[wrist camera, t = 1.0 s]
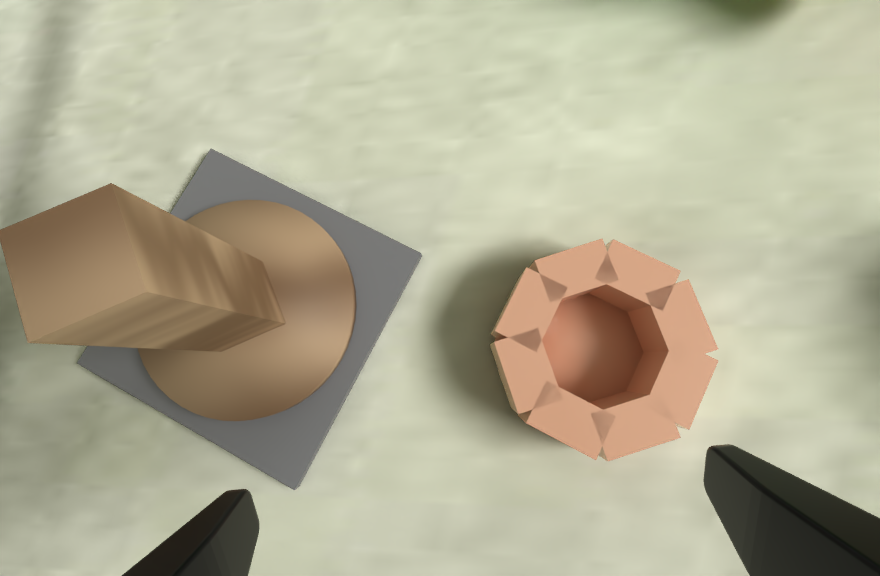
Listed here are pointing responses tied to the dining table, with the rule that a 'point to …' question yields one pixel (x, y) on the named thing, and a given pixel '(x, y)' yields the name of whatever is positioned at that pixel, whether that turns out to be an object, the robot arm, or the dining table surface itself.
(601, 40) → the dining table surface
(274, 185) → the rubber mat
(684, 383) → the terracotta bowl
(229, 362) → the walnut lid
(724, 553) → the dining table surface
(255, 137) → the dining table surface
